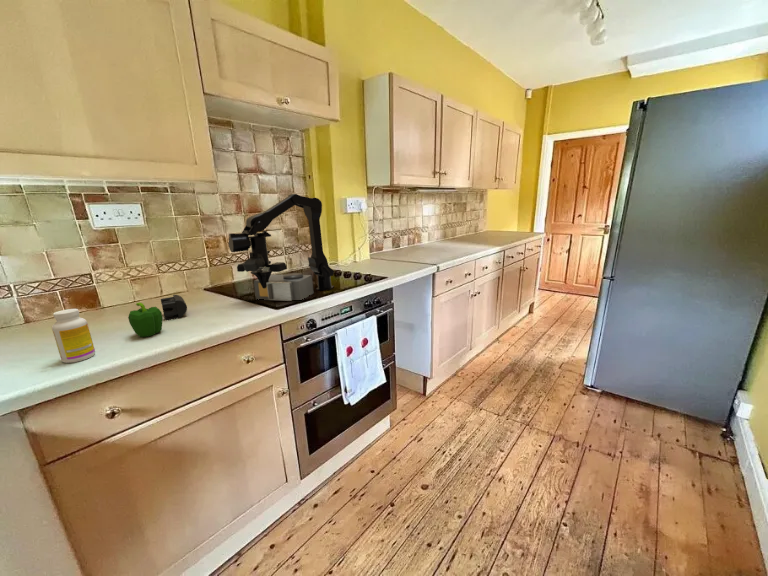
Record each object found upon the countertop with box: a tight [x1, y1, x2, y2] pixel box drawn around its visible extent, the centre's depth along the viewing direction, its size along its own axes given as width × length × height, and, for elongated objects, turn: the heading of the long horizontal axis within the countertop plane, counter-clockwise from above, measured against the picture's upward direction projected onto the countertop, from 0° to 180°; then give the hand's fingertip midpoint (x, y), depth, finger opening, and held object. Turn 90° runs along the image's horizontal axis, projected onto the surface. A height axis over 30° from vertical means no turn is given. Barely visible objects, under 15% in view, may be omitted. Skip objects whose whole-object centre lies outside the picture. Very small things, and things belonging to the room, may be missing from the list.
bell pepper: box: [127, 302, 164, 338], centre depth 100 cm, size 8×8×10 cm
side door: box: [267, 281, 294, 302], centre depth 130 cm, size 3×10×7 cm, turn 77°
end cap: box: [160, 294, 188, 321], centre depth 118 cm, size 10×7×7 cm
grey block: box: [253, 272, 315, 301], centre depth 138 cm, size 12×20×9 cm, turn 77°
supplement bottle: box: [51, 308, 96, 364], centre depth 85 cm, size 7×7×13 cm
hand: (264, 288), depth 132 cm, fingers closed
